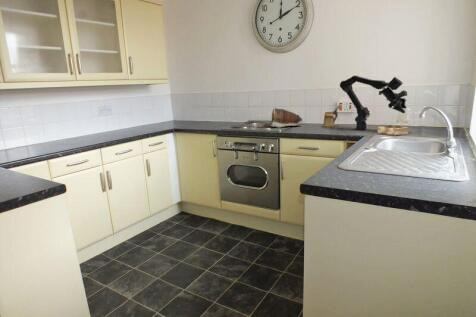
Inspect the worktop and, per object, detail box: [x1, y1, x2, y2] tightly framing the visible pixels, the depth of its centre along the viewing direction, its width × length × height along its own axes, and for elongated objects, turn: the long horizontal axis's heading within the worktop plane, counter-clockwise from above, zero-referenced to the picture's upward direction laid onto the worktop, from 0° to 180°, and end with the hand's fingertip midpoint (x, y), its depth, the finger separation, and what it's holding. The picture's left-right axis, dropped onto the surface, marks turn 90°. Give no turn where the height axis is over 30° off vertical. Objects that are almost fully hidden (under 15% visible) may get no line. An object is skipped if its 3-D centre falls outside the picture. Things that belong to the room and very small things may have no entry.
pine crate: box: [377, 124, 409, 137], centre depth 211 cm, size 13×13×4 cm
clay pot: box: [270, 107, 304, 129], centre depth 260 cm, size 15×15×25 cm
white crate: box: [396, 107, 411, 124], centre depth 212 cm, size 6×6×9 cm
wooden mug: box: [322, 103, 342, 128], centre depth 251 cm, size 9×14×18 cm, turn 81°
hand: (406, 112), depth 211 cm, fingers closed on white crate, 6 cm apart
